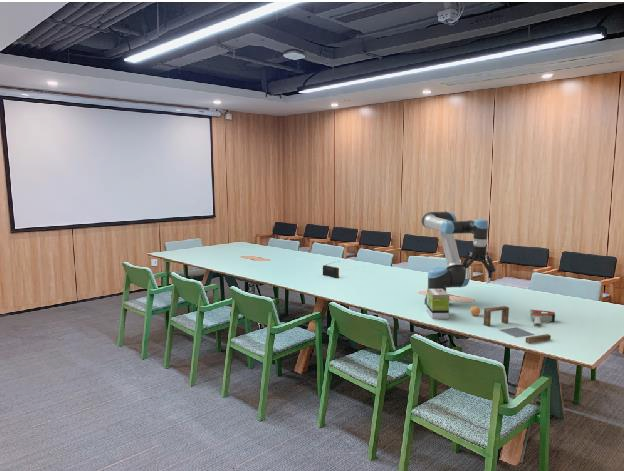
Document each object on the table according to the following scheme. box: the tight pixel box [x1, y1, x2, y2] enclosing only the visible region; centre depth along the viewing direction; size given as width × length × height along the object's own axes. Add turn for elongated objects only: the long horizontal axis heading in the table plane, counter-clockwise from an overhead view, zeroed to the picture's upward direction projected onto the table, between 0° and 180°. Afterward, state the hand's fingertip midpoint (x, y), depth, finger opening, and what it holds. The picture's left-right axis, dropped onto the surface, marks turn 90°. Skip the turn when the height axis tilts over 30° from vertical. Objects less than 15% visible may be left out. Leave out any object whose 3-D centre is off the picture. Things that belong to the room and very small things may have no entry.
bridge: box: [483, 305, 510, 327], centre depth 248 cm, size 3×14×9 cm, turn 110°
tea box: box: [426, 288, 450, 320], centre depth 264 cm, size 15×10×15 cm, turn 178°
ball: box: [470, 306, 481, 317], centre depth 264 cm, size 6×6×6 cm
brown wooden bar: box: [525, 333, 552, 344], centre depth 221 cm, size 2×14×2 cm, turn 110°
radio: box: [322, 261, 340, 279], centre depth 373 cm, size 19×3×15 cm, turn 43°
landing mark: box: [499, 326, 535, 338], centre depth 234 cm, size 12×12×1 cm
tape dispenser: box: [529, 309, 556, 328], centre depth 253 cm, size 18×5×20 cm
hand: (477, 280), depth 265 cm, fingers open, 13 cm apart
